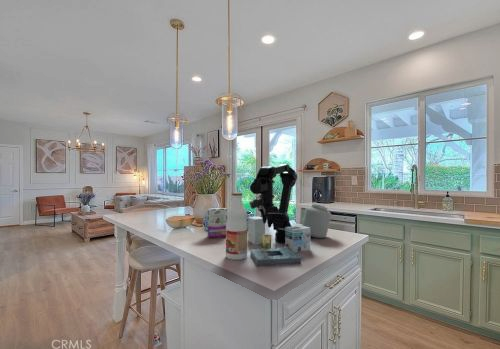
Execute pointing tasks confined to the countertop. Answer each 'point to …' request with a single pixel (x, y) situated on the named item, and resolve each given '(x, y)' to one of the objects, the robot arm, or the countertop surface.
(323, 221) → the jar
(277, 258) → the jig
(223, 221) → the candy bar box
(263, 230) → the small box
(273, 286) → the countertop surface
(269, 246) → the cylinder
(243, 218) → the fruit juice
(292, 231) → the light bulb box
